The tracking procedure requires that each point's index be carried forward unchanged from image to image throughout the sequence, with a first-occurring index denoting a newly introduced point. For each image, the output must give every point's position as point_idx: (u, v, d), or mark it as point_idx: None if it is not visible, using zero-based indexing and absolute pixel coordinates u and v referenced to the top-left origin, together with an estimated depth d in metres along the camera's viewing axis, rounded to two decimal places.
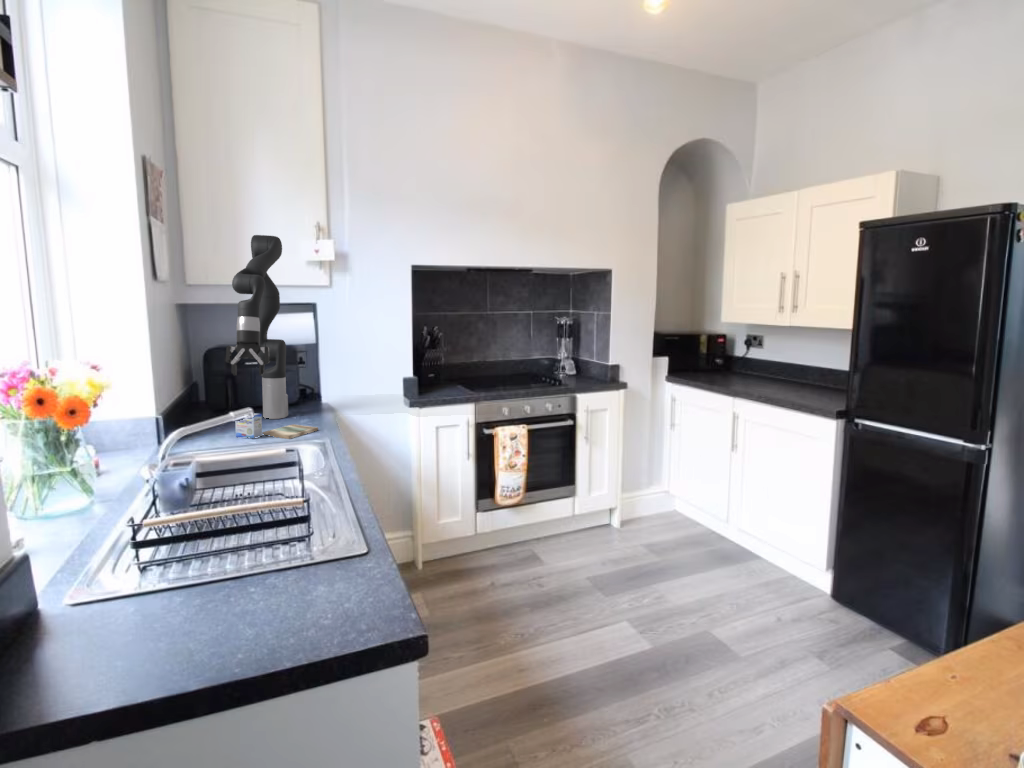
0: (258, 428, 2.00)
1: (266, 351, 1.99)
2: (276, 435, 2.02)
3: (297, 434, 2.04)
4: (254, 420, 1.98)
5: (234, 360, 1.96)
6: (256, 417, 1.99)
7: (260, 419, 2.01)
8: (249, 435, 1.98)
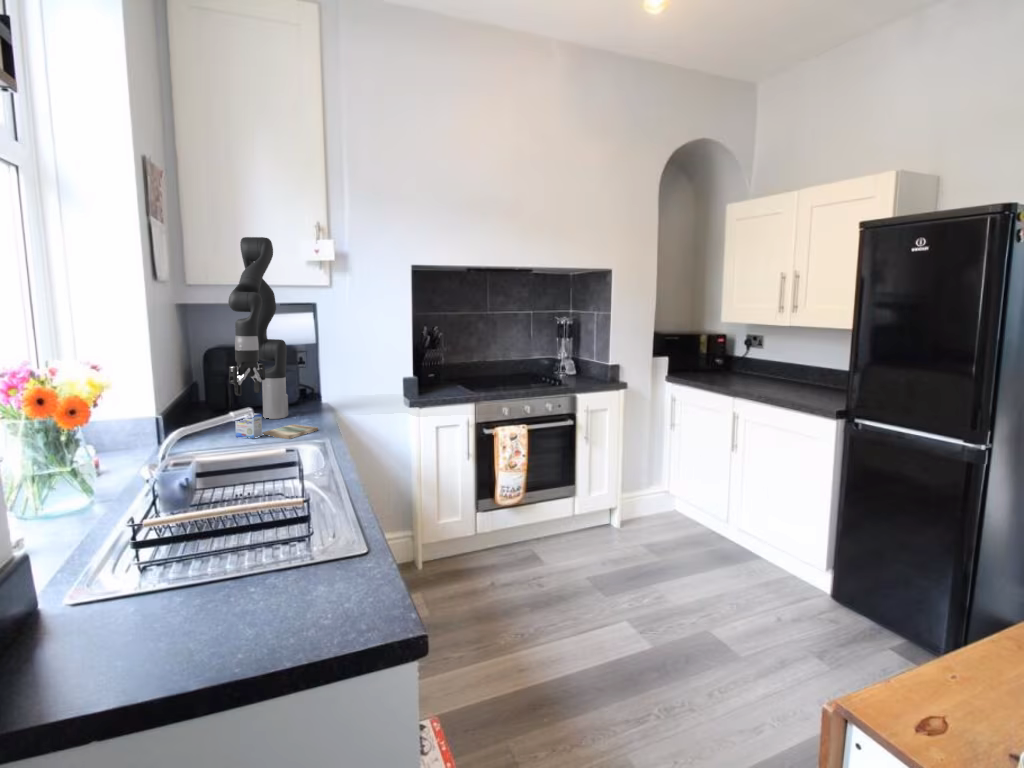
0: (258, 428, 2.00)
1: (263, 368, 2.03)
2: (276, 435, 2.02)
3: (297, 434, 2.04)
4: (254, 420, 1.98)
5: (241, 380, 1.94)
6: (256, 417, 1.99)
7: (260, 419, 2.01)
8: (249, 435, 1.98)
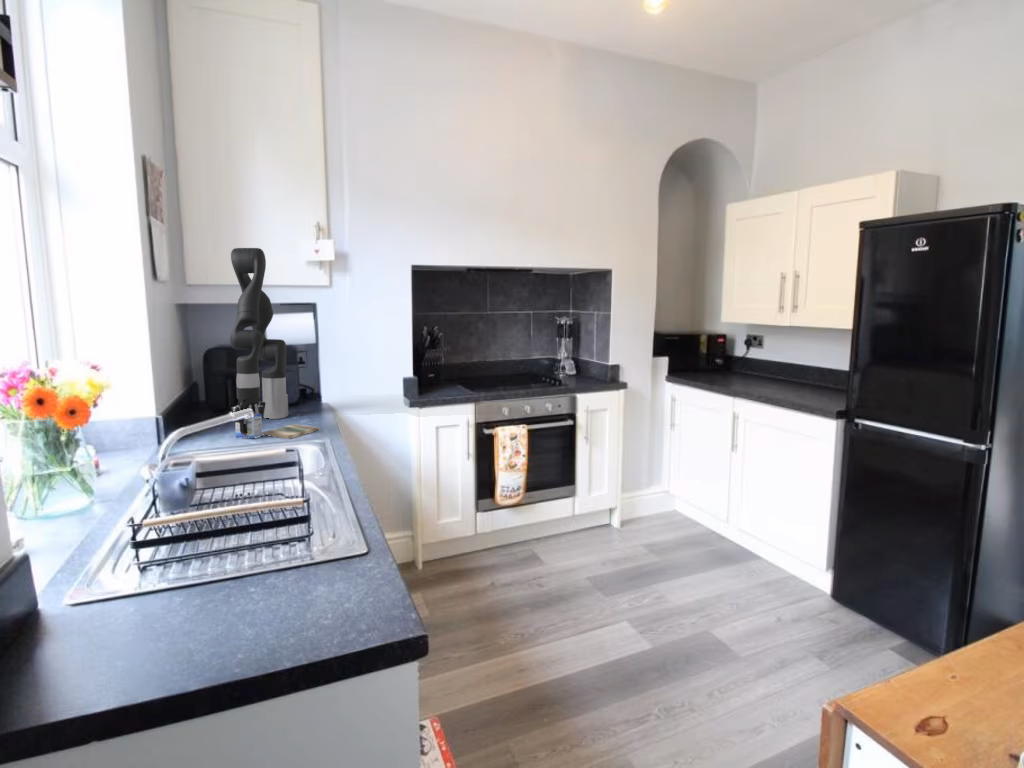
0: (258, 427, 2.00)
1: (263, 406, 2.05)
2: (276, 435, 2.02)
3: (297, 434, 2.04)
4: (254, 420, 1.98)
5: (246, 419, 1.97)
6: (256, 417, 1.99)
7: (260, 419, 2.01)
8: (249, 435, 1.98)
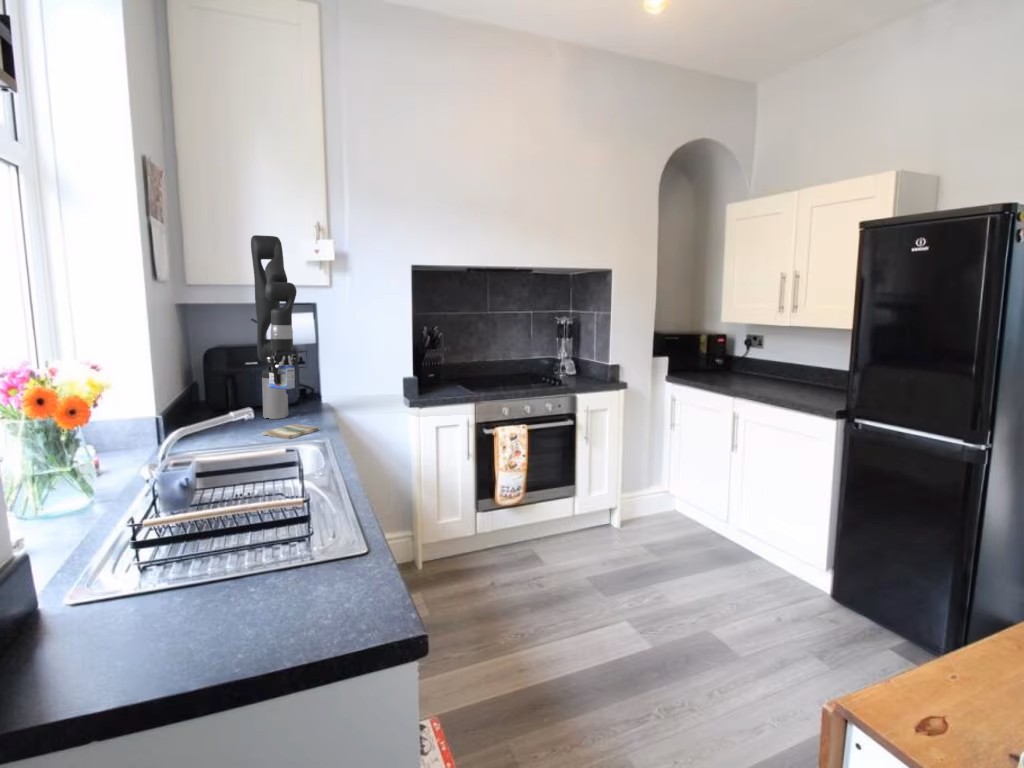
0: (291, 379, 2.05)
1: (296, 359, 2.10)
2: (276, 435, 2.02)
3: (297, 434, 2.04)
4: (287, 370, 2.02)
5: (280, 370, 2.02)
6: (289, 368, 2.03)
7: (293, 370, 2.05)
8: (282, 385, 2.03)
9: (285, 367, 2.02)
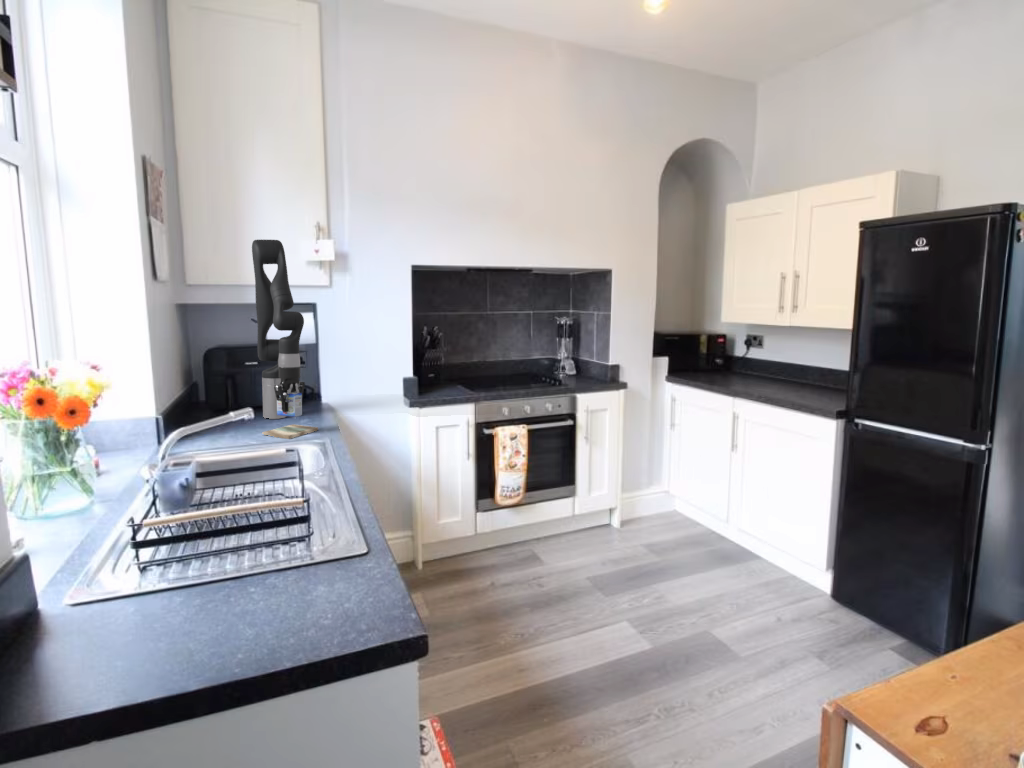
0: (299, 406, 2.08)
1: (303, 386, 2.12)
2: (276, 435, 2.02)
3: (297, 434, 2.04)
4: (295, 398, 2.05)
5: (287, 398, 2.05)
6: (297, 396, 2.06)
7: (300, 398, 2.08)
8: (290, 413, 2.06)
9: (293, 395, 2.05)
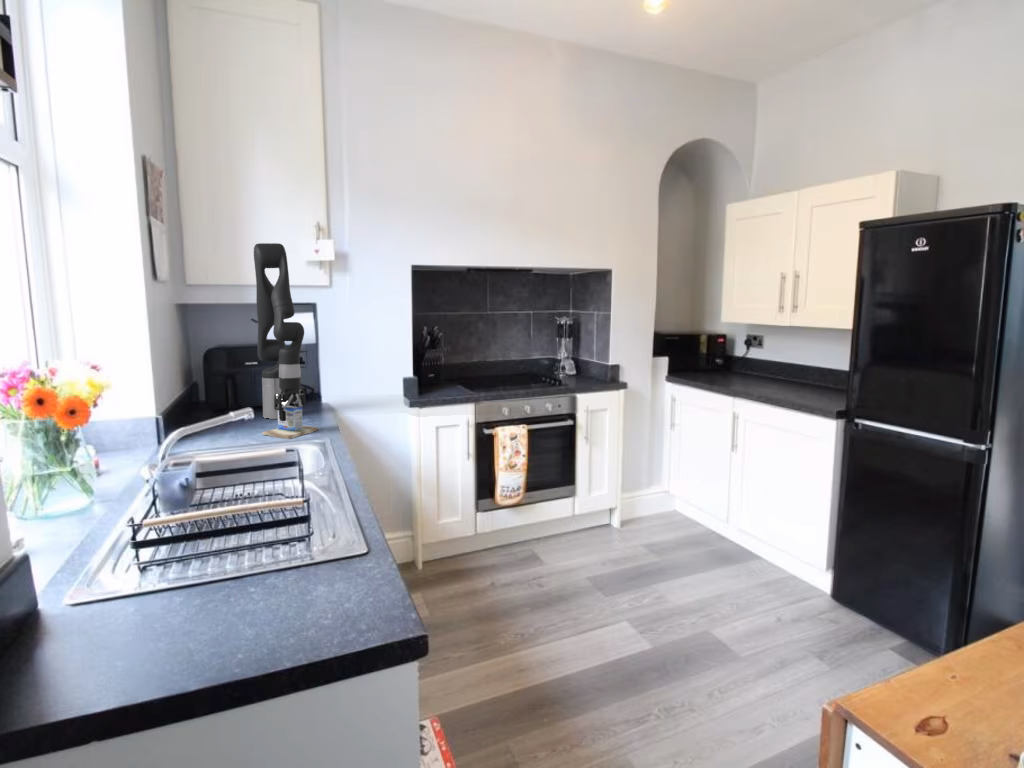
0: (299, 420, 2.08)
1: (304, 394, 2.13)
2: (276, 435, 2.02)
3: (297, 434, 2.04)
4: (295, 412, 2.06)
5: (285, 407, 2.04)
6: (297, 410, 2.07)
7: (301, 412, 2.09)
8: (290, 427, 2.07)
9: (293, 409, 2.06)
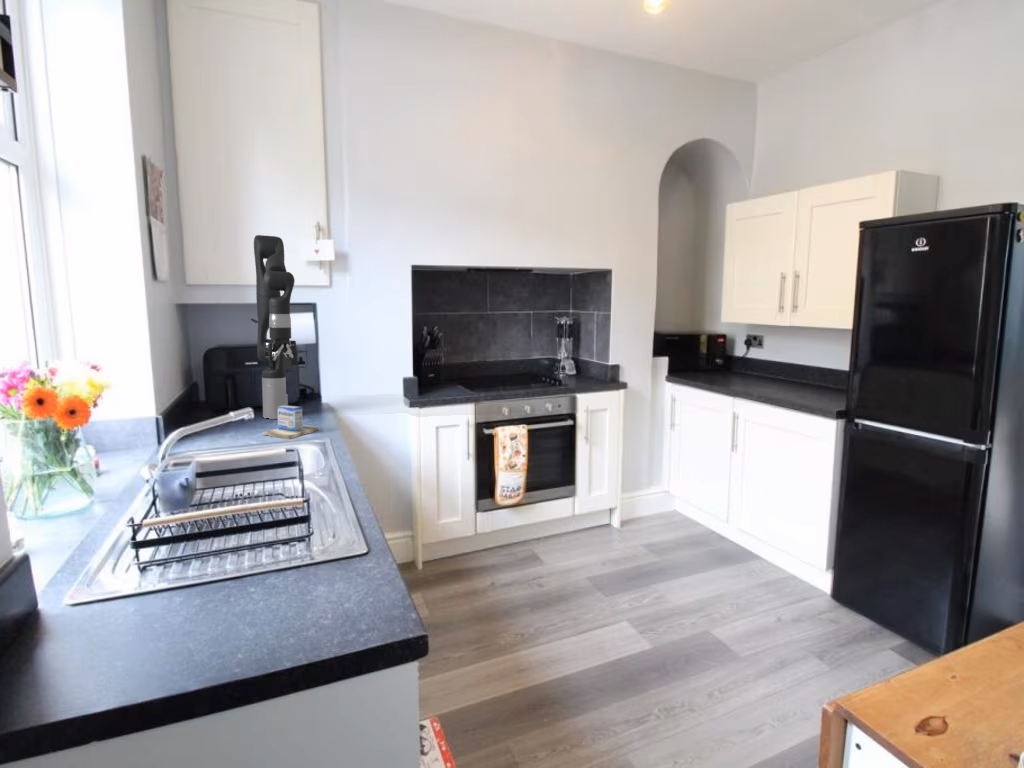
0: (299, 420, 2.08)
1: (295, 345, 2.13)
2: (276, 435, 2.02)
3: (297, 434, 2.04)
4: (295, 412, 2.06)
5: (275, 356, 2.04)
6: (297, 410, 2.07)
7: (301, 412, 2.09)
8: (290, 427, 2.07)
9: (293, 409, 2.06)
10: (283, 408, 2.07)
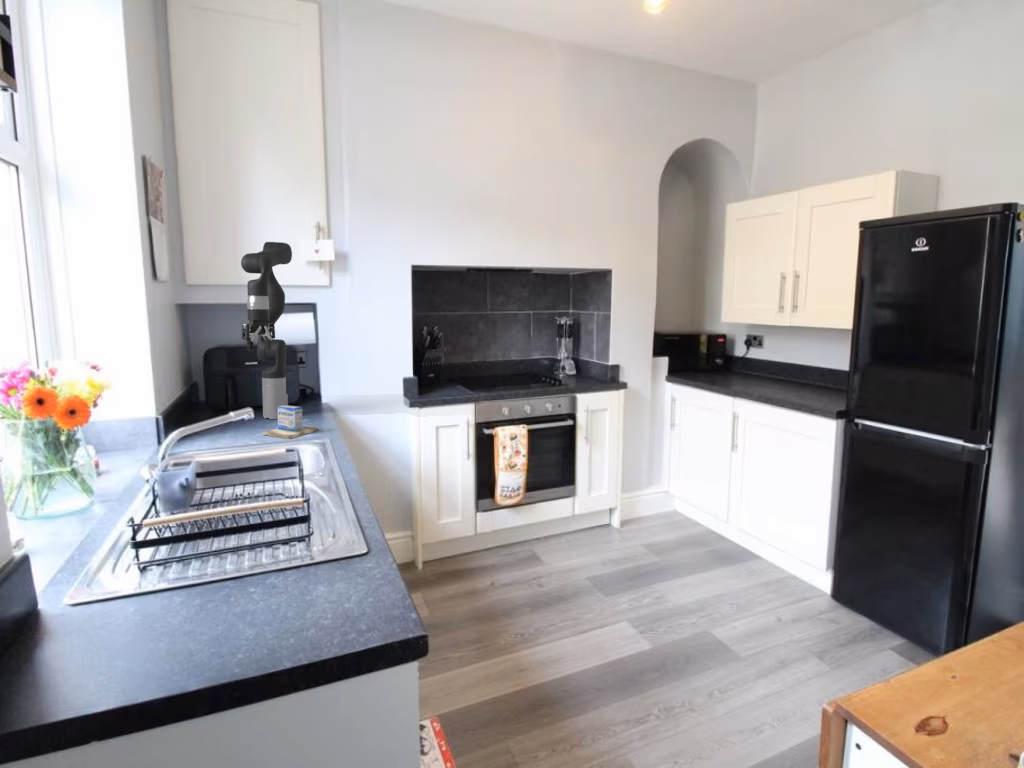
0: (299, 420, 2.08)
1: (273, 327, 2.17)
2: (276, 435, 2.02)
3: (297, 434, 2.04)
4: (295, 412, 2.06)
5: (253, 337, 2.08)
6: (297, 410, 2.07)
7: (301, 412, 2.09)
8: (290, 427, 2.07)
9: (293, 409, 2.06)
10: (283, 408, 2.07)
